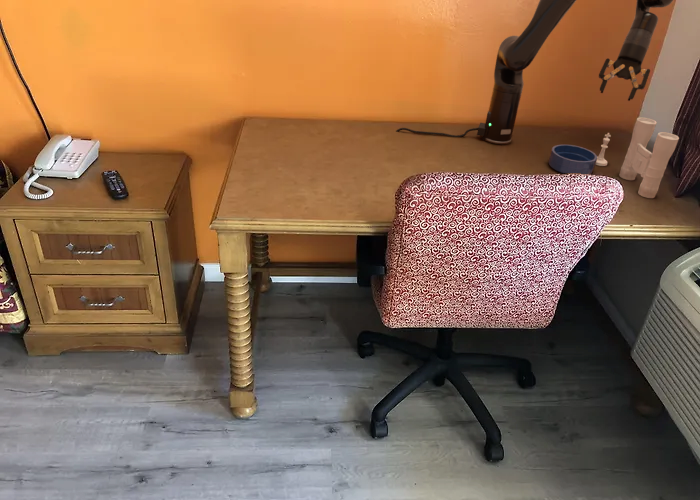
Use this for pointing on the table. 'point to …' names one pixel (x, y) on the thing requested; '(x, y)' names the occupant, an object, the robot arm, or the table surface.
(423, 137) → the table surface
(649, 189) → the binoculars
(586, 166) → the bowl
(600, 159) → the chess piece
